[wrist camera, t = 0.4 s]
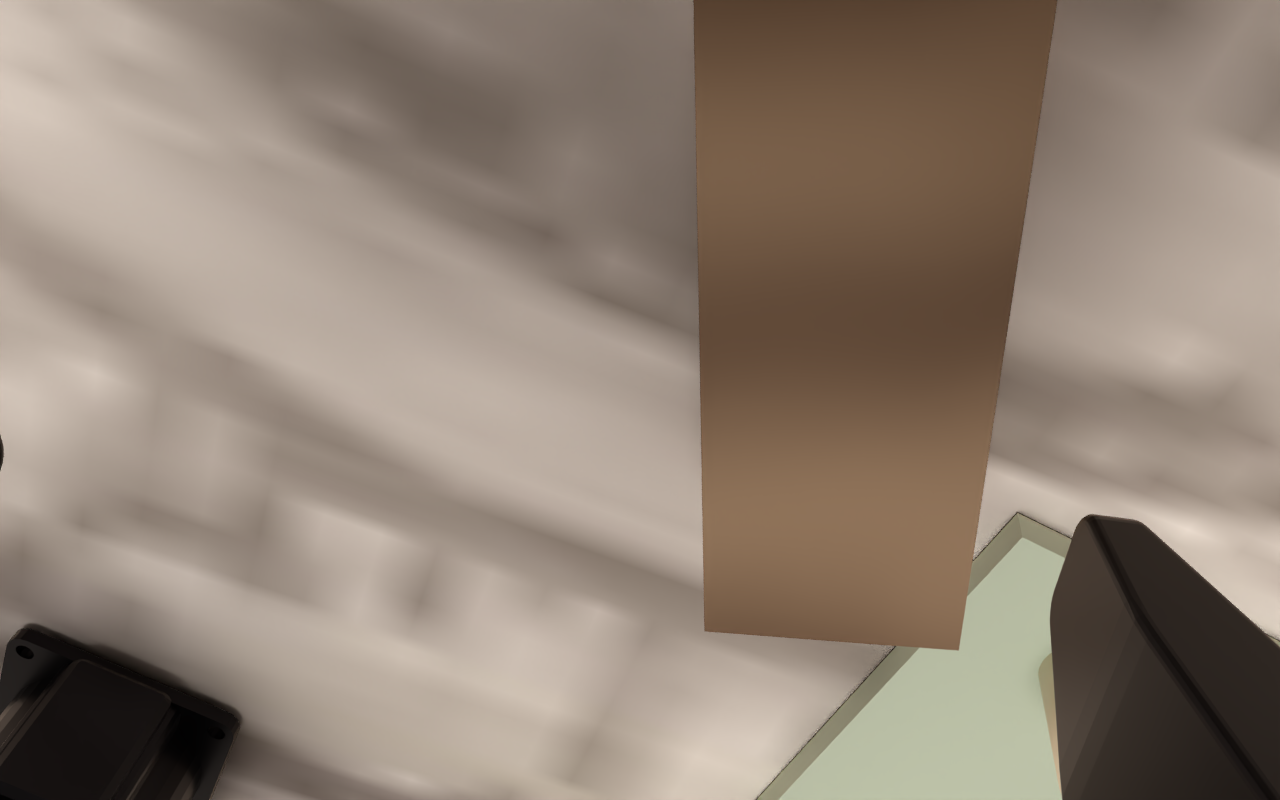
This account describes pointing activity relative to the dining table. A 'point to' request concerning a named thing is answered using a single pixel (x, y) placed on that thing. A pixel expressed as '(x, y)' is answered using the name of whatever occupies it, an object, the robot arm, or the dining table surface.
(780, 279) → the brown rectangular block
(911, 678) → the strip
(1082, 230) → the dining table surface
